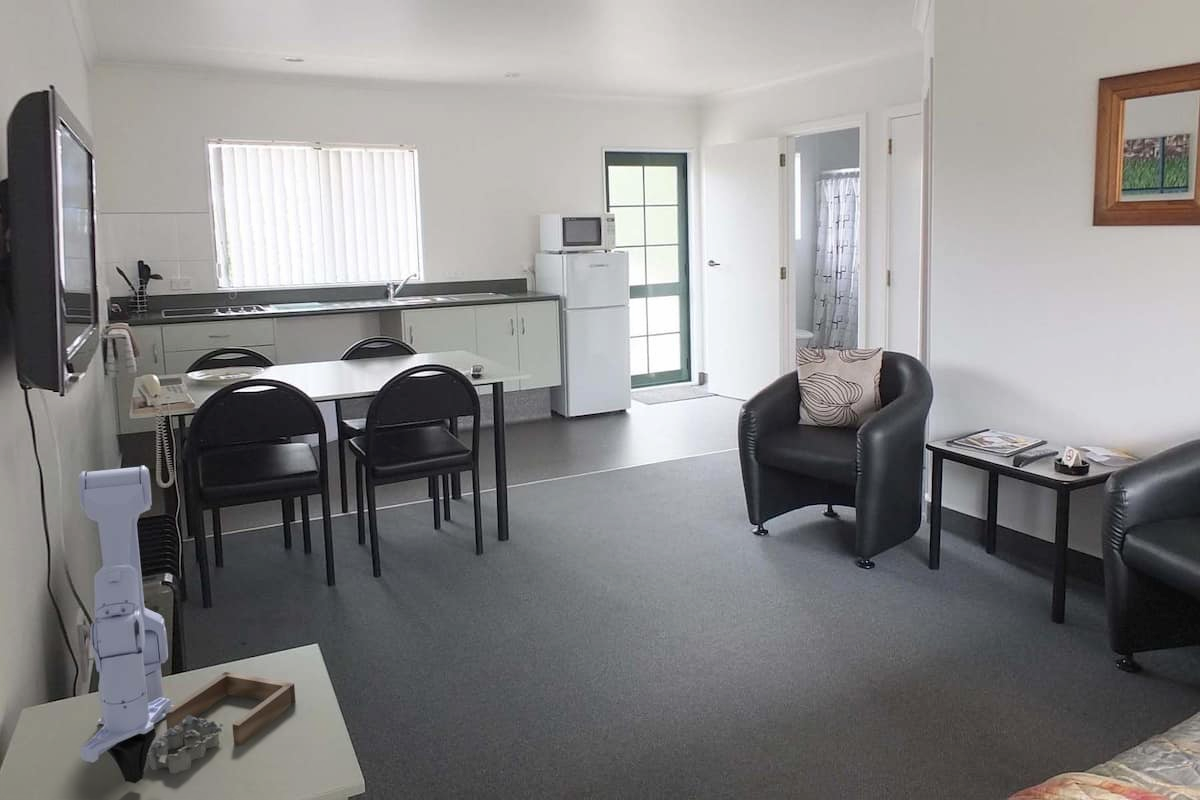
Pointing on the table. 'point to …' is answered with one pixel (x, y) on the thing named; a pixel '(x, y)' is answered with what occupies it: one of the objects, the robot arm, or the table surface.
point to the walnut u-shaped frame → (271, 691)
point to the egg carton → (193, 749)
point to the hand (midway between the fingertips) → (133, 779)
